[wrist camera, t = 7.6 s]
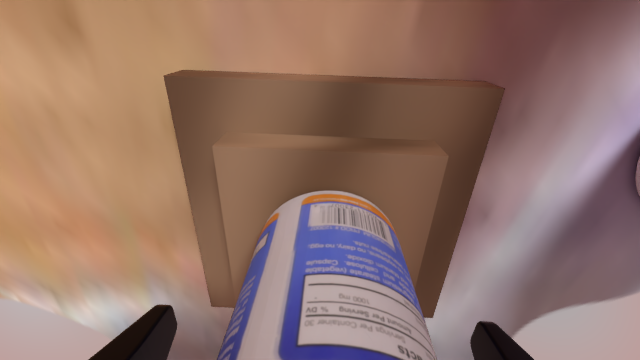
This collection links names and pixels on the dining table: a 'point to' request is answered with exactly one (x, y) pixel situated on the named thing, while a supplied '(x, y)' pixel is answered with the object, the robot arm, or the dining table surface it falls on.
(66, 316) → the dining table surface
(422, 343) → the pill bottle
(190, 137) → the walnut stand
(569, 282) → the dining table surface
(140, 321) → the robot arm
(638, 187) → the pill bottle
